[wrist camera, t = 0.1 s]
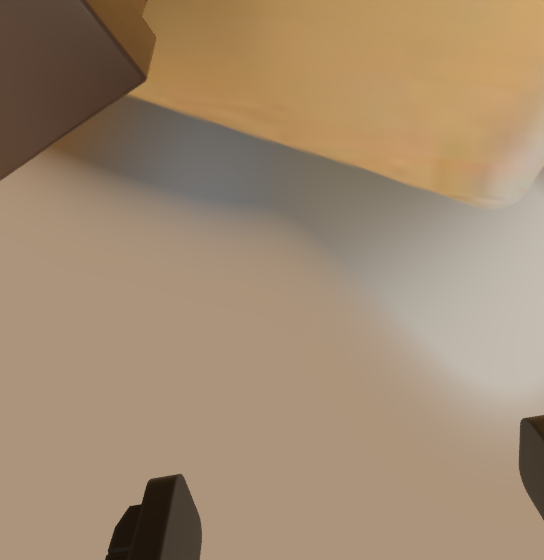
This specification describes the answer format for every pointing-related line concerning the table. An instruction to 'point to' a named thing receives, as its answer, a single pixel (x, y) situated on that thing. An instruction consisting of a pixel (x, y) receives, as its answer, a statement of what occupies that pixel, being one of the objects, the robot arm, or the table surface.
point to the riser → (64, 68)
